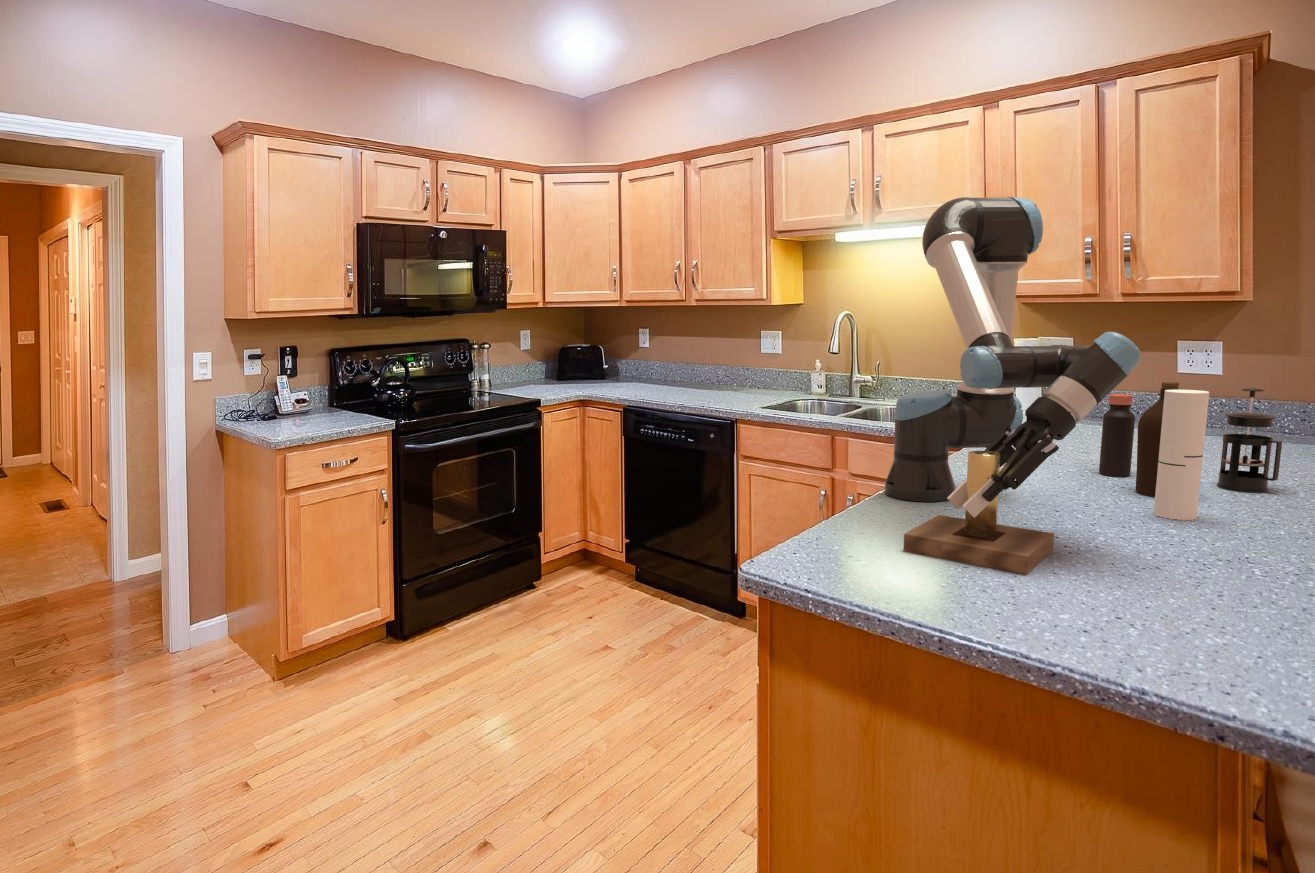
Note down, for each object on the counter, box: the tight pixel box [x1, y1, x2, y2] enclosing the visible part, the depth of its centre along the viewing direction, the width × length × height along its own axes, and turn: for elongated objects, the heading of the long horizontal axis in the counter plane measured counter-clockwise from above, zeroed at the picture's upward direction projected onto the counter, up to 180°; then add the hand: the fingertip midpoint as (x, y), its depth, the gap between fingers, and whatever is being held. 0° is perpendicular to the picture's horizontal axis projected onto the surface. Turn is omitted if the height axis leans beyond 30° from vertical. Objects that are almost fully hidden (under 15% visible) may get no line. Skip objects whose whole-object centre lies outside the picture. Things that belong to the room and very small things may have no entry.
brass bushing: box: [964, 450, 1001, 537], centre depth 129 cm, size 5×5×14 cm
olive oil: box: [1135, 381, 1180, 498], centre depth 168 cm, size 11×11×25 cm
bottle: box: [1098, 393, 1136, 478], centre depth 189 cm, size 7×7×20 cm
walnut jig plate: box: [903, 514, 1055, 576], centre depth 131 cm, size 20×16×3 cm
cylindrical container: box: [1153, 389, 1210, 521], centre depth 150 cm, size 7×7×25 cm
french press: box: [1216, 387, 1283, 494], centre depth 172 cm, size 12×9×23 cm
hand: (960, 507), depth 129 cm, fingers closed on brass bushing, 5 cm apart
